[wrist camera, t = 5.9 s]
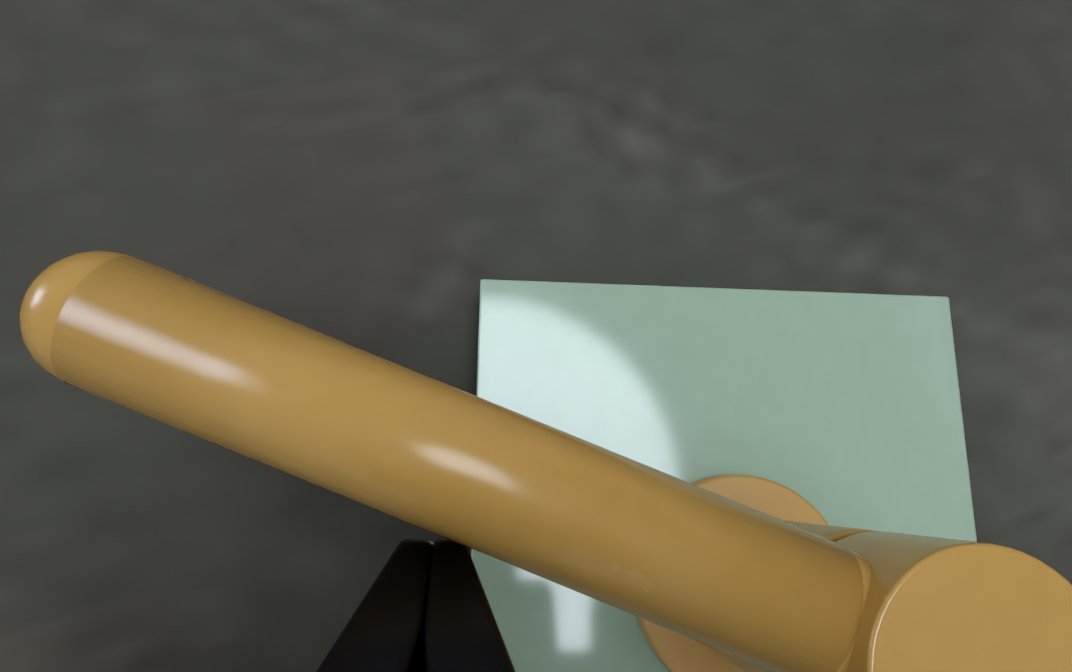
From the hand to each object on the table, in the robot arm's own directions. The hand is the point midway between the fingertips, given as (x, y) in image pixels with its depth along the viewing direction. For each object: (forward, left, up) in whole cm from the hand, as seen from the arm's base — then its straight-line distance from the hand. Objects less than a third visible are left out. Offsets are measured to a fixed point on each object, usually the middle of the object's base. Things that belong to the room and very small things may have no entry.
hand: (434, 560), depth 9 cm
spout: (0, -2, -1) cm, 2 cm away
